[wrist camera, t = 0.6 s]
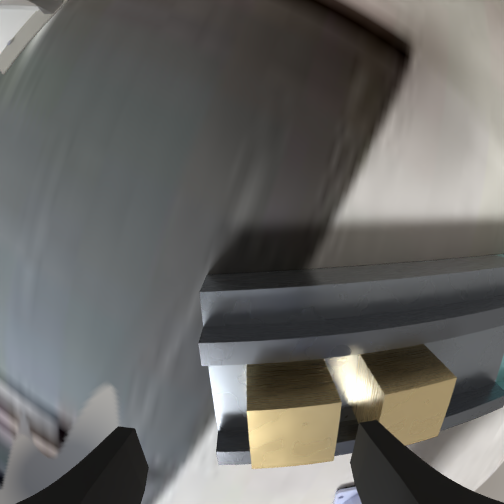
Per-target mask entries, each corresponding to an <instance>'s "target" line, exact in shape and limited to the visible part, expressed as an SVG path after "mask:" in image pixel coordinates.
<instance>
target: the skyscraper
mask: <svg viewBox="0 0 504 504" xmlns="http://www.w3.org/2000/svg"><path fill="white" fill-rule="evenodd" d="M67 1H68V0H0V71H1V72H2V73H3V75H5V73H6V72H7V71H8V69H9V68H10V67H11V65H12V64H13V63H14V61H15V60H16V59H17V57H18V56H19V55H20V54H21V52H22V51H23V50H24V49H25V47H26V46H27V45H28V44H29V42H30V41H31V40H32V39H33V38H34V37H35V35H36V34H37V33H38V32H39V31H40V30H41V29H42V27H43V26H44V25H45V24H46V23H47V22H48V21H49V20H50V19H51V18H52V17H53V16H54V15H55V14H56V12H57V11H58V10H59V9H60V8H61V7H62V6H63V5H64V4H65V3H66V2H67Z"/></svg>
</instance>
